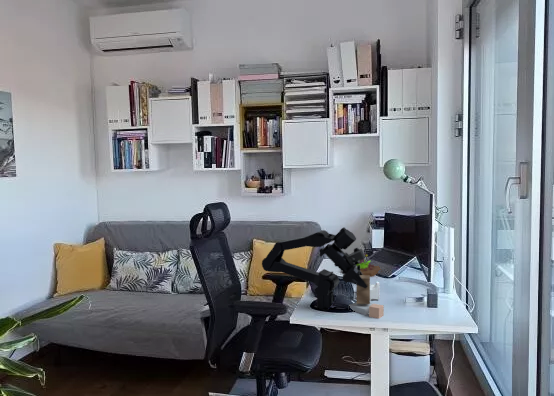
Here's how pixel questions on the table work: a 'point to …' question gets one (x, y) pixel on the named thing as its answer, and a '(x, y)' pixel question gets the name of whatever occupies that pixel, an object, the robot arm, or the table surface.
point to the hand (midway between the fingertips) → (366, 285)
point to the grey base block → (360, 308)
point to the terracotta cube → (376, 311)
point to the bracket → (375, 291)
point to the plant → (368, 268)
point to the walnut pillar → (363, 291)
